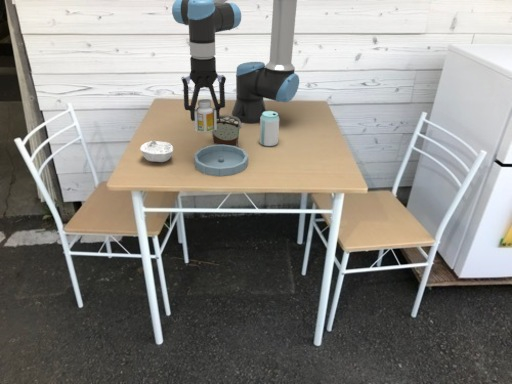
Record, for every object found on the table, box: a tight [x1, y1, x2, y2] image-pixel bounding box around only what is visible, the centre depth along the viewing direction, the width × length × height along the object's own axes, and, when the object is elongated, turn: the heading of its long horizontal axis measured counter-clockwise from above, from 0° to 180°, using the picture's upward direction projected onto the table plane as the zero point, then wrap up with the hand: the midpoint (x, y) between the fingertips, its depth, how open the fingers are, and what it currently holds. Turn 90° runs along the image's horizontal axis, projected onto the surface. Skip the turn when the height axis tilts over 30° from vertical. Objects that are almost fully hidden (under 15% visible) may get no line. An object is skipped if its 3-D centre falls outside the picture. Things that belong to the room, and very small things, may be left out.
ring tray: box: [193, 144, 249, 177], centre depth 140 cm, size 18×18×3 cm
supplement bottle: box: [195, 98, 214, 133], centre depth 131 cm, size 5×5×10 cm
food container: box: [211, 114, 242, 147], centre depth 153 cm, size 12×6×10 cm, turn 71°
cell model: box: [139, 140, 174, 163], centre depth 140 cm, size 10×12×7 cm
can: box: [259, 110, 280, 147], centre depth 153 cm, size 7×7×12 cm
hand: (205, 128), depth 133 cm, fingers closed on supplement bottle, 5 cm apart
